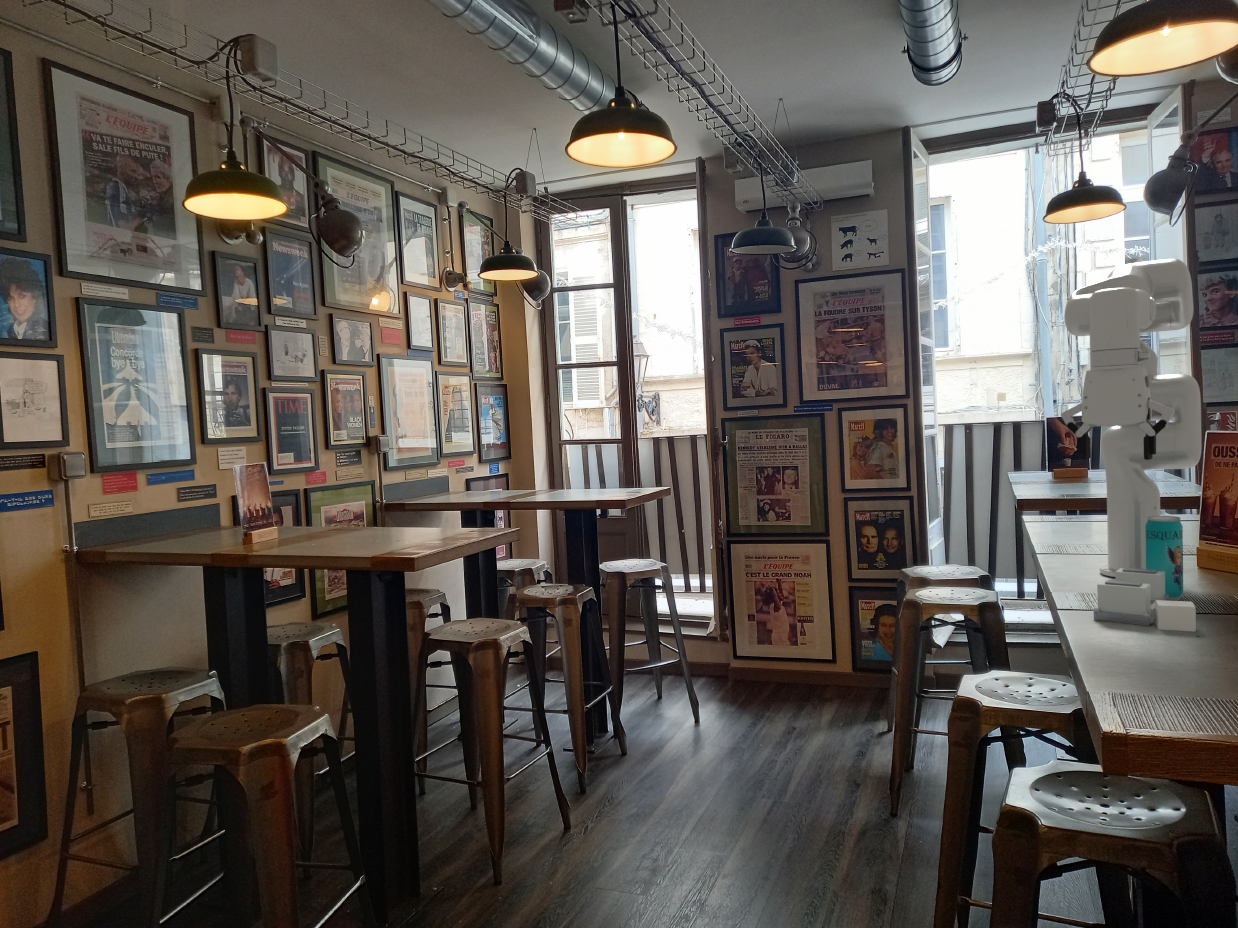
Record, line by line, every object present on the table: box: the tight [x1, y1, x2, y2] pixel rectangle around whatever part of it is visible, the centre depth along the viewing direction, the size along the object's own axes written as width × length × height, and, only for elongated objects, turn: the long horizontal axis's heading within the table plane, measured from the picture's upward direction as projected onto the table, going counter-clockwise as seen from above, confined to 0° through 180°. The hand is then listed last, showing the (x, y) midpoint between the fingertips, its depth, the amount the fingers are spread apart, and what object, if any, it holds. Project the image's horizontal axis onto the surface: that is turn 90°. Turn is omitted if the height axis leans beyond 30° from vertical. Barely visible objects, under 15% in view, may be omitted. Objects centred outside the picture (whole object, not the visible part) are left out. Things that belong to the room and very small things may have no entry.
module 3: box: [1155, 600, 1197, 632], centre depth 138 cm, size 4×5×4 cm
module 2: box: [1114, 568, 1165, 600], centre depth 154 cm, size 4×7×5 cm, turn 49°
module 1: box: [1096, 579, 1151, 615], centre depth 144 cm, size 4×7×5 cm, turn 48°
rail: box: [1093, 593, 1169, 627], centre depth 149 cm, size 18×8×2 cm, turn 139°
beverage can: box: [1145, 515, 1184, 601], centre depth 158 cm, size 6×6×15 cm
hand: (1116, 459), depth 151 cm, fingers open, 9 cm apart
